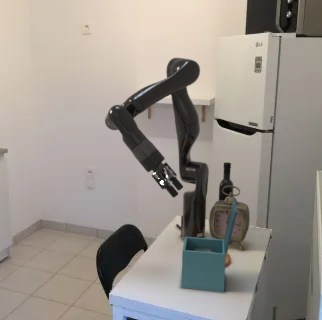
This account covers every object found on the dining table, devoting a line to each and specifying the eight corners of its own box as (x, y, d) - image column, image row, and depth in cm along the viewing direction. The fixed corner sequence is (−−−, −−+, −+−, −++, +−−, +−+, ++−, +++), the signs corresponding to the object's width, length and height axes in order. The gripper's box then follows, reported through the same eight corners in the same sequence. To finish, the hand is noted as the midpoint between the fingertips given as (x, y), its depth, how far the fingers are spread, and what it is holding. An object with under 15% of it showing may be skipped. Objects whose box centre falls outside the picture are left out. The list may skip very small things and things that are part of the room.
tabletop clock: (208, 246, 176) (210, 186, 170) (212, 237, 184) (215, 180, 178) (245, 252, 170) (249, 190, 164) (248, 243, 178) (252, 184, 172)
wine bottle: (231, 227, 194) (234, 161, 187) (230, 232, 189) (233, 165, 182) (218, 226, 196) (221, 161, 189) (217, 231, 191) (219, 164, 183)
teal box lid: (234, 211, 135) (237, 212, 135) (233, 199, 146) (235, 200, 146) (224, 252, 139) (227, 253, 139) (224, 238, 150) (226, 238, 150)
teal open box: (181, 287, 145) (182, 250, 142) (184, 271, 156) (184, 236, 153) (223, 292, 142) (225, 254, 139) (223, 274, 153) (225, 239, 150)
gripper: (150, 152, 140) (183, 191, 139) (160, 144, 153) (190, 180, 152) (133, 166, 143) (165, 205, 142) (145, 157, 156) (174, 192, 155)
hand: (178, 192), depth 147 cm, fingers open, 8 cm apart
